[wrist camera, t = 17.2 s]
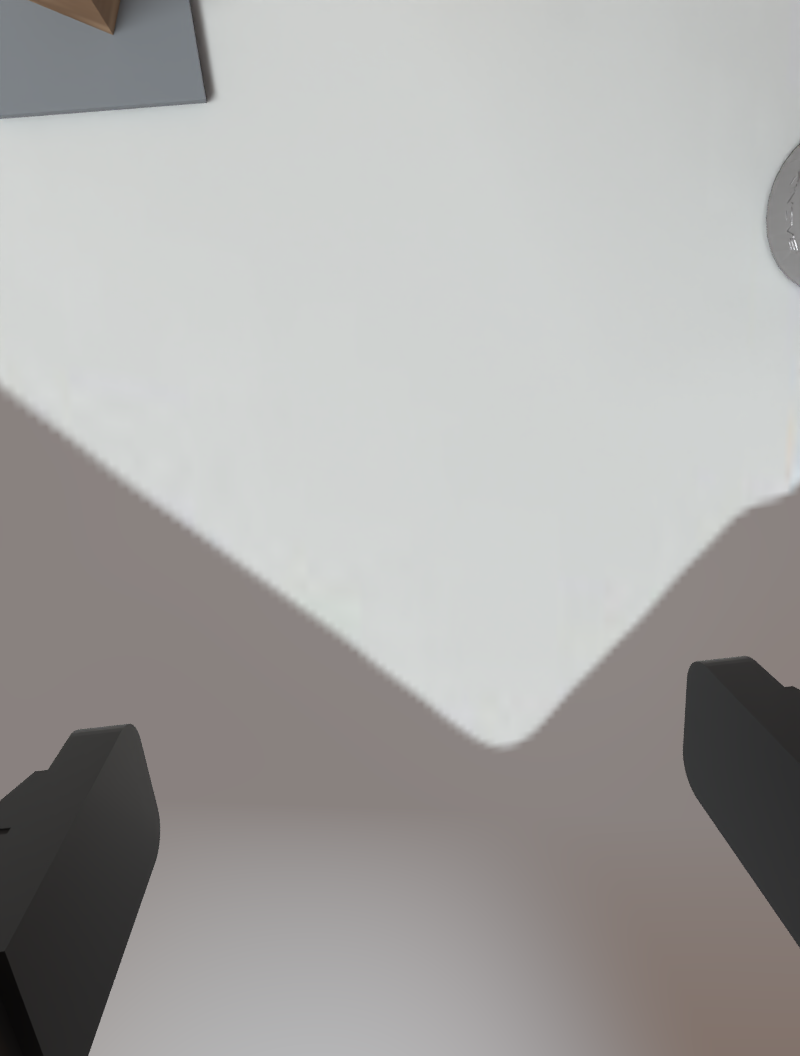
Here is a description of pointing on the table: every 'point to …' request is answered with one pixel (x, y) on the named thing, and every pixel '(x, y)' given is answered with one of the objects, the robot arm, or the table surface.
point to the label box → (87, 11)
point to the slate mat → (97, 59)
